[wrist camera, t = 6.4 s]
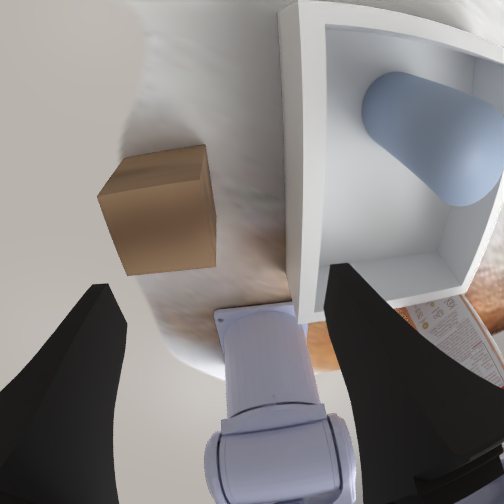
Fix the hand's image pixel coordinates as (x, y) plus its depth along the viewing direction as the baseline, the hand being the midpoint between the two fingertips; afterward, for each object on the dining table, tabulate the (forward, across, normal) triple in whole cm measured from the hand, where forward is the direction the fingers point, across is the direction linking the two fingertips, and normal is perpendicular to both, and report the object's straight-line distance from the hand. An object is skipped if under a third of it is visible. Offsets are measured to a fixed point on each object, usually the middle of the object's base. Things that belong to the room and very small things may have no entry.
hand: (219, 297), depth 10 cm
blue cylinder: (+10, -11, -4) cm, 15 cm away
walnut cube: (+10, +3, +1) cm, 11 cm away
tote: (+10, -11, 0) cm, 15 cm away
